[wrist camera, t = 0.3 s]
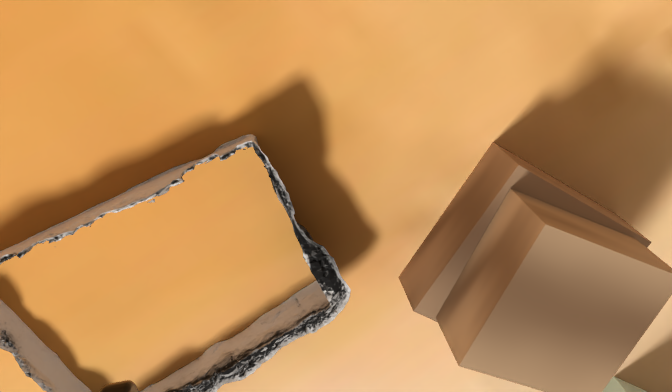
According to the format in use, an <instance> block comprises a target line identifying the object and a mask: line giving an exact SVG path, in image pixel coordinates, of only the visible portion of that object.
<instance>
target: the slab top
mask: <svg viewBox="0 0 672 392" xmlns="http://www.w3.org/2000/svg"><path fill="white" fill-rule="evenodd" d="M671 295H672V268H671V267H670V266H668V265H667V264H666V263H665V262H663V261H662V260H661V259H660V258H659V257H657V256H656V255H655V254H654V253H652V252H651V251H650V250H649V249H648V248H646V247H645V246H644V245H643V244H642V243H640V242H639V241H638V240H637V239H635V238H633V237H630V236H628V235H625V234H623V233H620V232H618V231H615V230H613V229H610V228H608V227H605V226H603V225H600V224H598V223H595V222H593V221H590V220H588V219H585V218H583V217H580V216H578V215H575V214H573V213H570V212H568V211H565V210H563V209H560V208H558V207H555V206H553V205H550V204H548V203H545V202H543V201H540V200H538V199H535V198H533V197H530V196H528V195H526V194H523V193H521V192H518V191H516V190H513V189H511V188H510V190H509V192H508V193H507V195H506V197H505V198H504V200H503V202H502V204H501V205H500V207H499V209H498V211H497V212H496V214H495V216H494V217H493V219H492V221H491V223H490V224H489V226H488V228H487V230H486V231H485V233H484V235H483V236H482V238H481V240H480V242H479V243H478V245H477V247H476V249H475V250H474V252H473V254H472V255H471V257H470V259H469V261H468V262H467V264H466V266H465V268H464V269H463V271H462V273H461V275H460V276H459V278H458V280H457V281H456V283H455V285H454V287H453V288H452V290H451V292H450V294H449V295H448V297H447V299H446V300H445V302H444V304H443V306H442V307H441V309H440V311H439V313H438V314H437V316H436V319H437V321H438V324H439V326H440V328H441V330H442V332H443V334H444V336H445V338H446V340H447V342H448V344H449V346H450V349H451V351H452V353H453V355H454V357H455V359H456V361H457V363H458V365H459V366H461V367H464V368H467V369H471V370H474V371H477V372H481V373H484V374H487V375H491V376H494V377H497V378H501V379H504V380H507V381H511V382H514V383H517V384H521V385H524V386H527V387H531V388H534V389H537V390H541V391H544V392H602V391H603V390H604V388H605V387H606V386H607V384H608V383H609V381H610V380H611V379H612V377H613V376H614V374H615V373H616V372H617V370H618V369H619V368H620V366H621V365H622V363H623V362H624V361H625V359H626V358H627V356H628V355H629V354H630V352H631V351H632V349H633V348H634V347H635V345H636V344H637V342H638V341H639V340H640V338H641V337H642V335H643V334H644V333H645V331H646V330H647V329H648V327H649V326H650V324H651V323H652V322H653V320H654V319H655V317H656V316H657V315H658V313H659V312H660V310H661V309H662V308H663V306H664V305H665V303H666V302H667V301H668V299H669V298H670V296H671Z"/></svg>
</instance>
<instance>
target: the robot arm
mask: <svg viewBox="0 0 672 392" xmlns="http://www.w3.org/2000/svg"><path fill="white" fill-rule="evenodd" d="M100 392H138V389H137V387H136V385H135V384H134V382H132V381H130V380H127V381H122V382H116V383H110V384H107V385H105V386H104V387H103V388H102V389H101V390H100Z"/></svg>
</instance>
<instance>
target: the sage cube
mask: <svg viewBox="0 0 672 392" xmlns="http://www.w3.org/2000/svg"><path fill="white" fill-rule="evenodd" d="M602 392H647V391H645V390H643V389H641V388H639V387H636V386H634V385H632V384H630V383H628V382H625V381H623V380H621V379H619V378H617V377H614V376H613V378H612V379H611V380H610V381H609V383H608V384H607V386H606V387H605V388H604V390H603V391H602Z"/></svg>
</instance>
